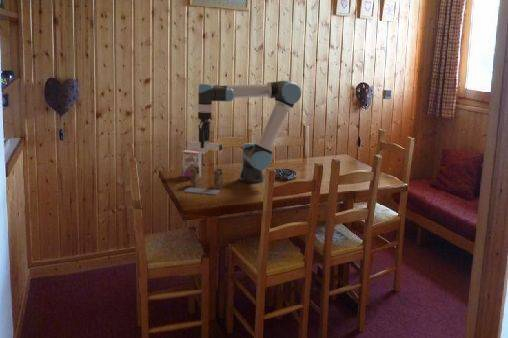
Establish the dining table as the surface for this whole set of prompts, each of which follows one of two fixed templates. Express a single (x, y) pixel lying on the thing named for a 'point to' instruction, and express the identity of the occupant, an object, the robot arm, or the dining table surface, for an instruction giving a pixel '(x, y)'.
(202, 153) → the robot arm
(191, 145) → the rail
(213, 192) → the mat
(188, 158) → the candy bar box
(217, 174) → the post
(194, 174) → the post
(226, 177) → the dining table surface
